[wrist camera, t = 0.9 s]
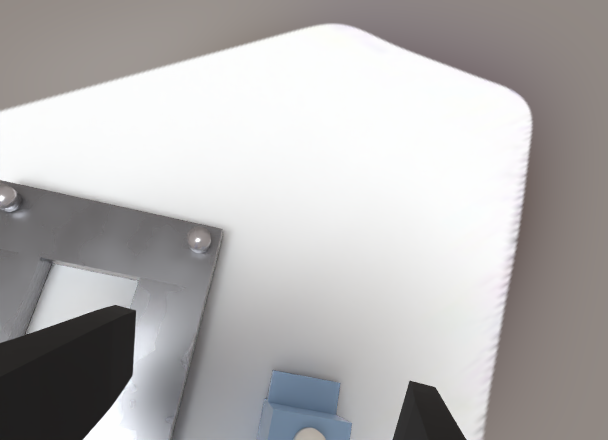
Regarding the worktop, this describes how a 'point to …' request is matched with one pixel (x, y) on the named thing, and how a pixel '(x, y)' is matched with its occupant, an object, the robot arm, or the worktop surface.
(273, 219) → the worktop surface
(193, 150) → the worktop surface
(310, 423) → the servo
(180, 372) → the plate
